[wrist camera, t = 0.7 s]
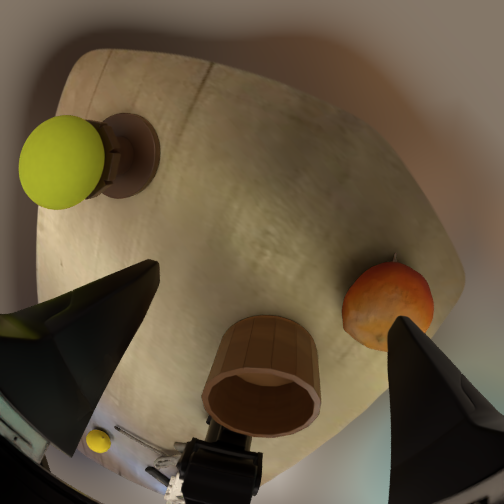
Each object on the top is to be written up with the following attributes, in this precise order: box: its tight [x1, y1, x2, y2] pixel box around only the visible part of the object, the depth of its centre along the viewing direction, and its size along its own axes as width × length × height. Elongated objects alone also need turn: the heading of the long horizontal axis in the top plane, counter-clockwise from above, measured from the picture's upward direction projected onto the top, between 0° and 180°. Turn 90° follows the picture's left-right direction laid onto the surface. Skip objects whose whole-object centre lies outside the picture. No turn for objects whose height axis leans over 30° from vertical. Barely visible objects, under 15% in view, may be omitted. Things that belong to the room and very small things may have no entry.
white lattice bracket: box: [164, 472, 186, 504], centre depth 37 cm, size 14×14×20 cm
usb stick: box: [145, 467, 172, 487], centre depth 45 cm, size 10×3×2 cm, turn 23°
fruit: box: [342, 253, 434, 352], centre depth 21 cm, size 8×8×8 cm
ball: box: [19, 115, 105, 210], centre depth 15 cm, size 7×7×7 cm
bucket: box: [201, 315, 321, 438], centre depth 24 cm, size 10×10×8 cm
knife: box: [154, 454, 182, 470], centre depth 37 cm, size 2×18×3 cm
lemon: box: [86, 430, 111, 453], centre depth 40 cm, size 7×5×5 cm
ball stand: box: [85, 113, 160, 199], centre depth 20 cm, size 8×8×6 cm
